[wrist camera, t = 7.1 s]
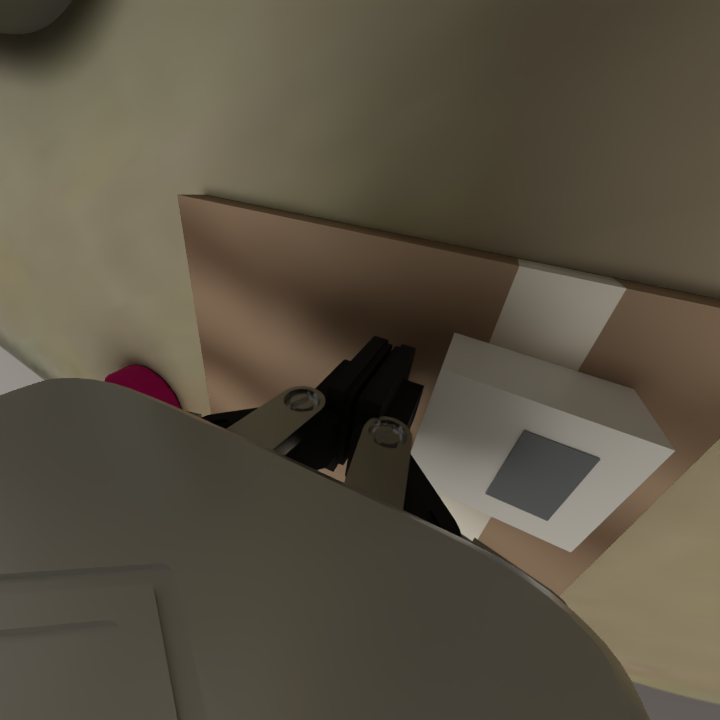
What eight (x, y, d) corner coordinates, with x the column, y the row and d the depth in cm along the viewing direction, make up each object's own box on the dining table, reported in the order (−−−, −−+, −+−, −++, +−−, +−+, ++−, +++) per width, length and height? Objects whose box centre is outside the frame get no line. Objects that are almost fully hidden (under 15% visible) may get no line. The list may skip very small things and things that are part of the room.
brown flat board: (204, 194, 15) (177, 194, 14) (785, 312, 9) (828, 330, 8) (233, 451, 24) (219, 465, 23) (531, 593, 18) (533, 621, 17)
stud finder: (454, 332, 12) (440, 369, 9) (634, 389, 10) (676, 453, 8) (419, 427, 14) (401, 477, 12) (558, 483, 13) (571, 554, 10)
